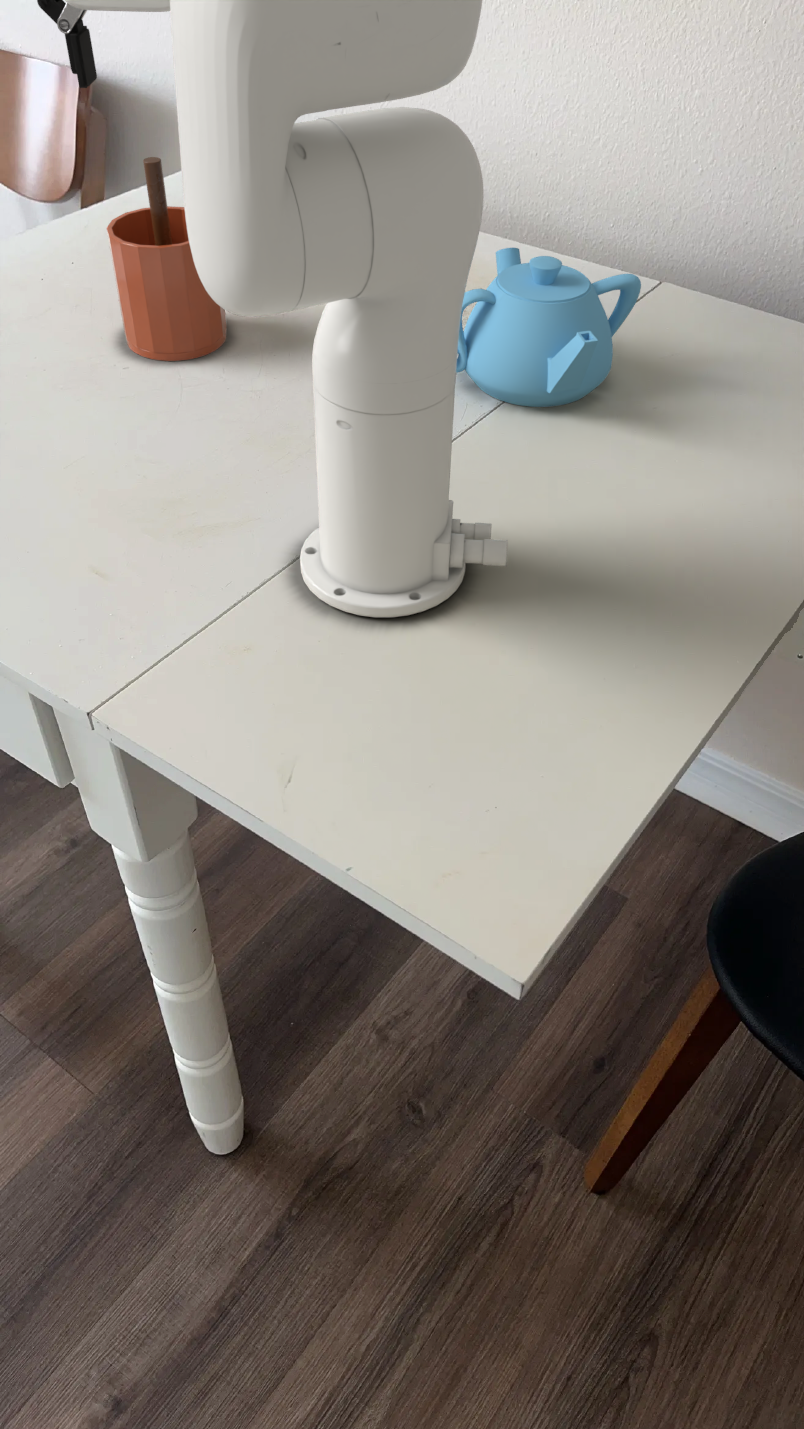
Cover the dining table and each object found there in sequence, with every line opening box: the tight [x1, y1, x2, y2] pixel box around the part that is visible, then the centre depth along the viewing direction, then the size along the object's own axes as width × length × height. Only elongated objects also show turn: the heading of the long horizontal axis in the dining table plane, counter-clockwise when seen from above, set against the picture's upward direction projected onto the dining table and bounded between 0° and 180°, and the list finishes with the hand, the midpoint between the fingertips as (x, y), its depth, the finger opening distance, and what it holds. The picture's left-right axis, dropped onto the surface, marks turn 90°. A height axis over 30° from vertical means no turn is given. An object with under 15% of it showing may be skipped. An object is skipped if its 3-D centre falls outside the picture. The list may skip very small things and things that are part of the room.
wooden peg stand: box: [142, 156, 172, 246], centre depth 103 cm, size 5×5×16 cm
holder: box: [106, 205, 228, 362], centre depth 105 cm, size 10×10×11 cm
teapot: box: [456, 247, 642, 408], centre depth 101 cm, size 15×17×11 cm
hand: (143, 85), depth 92 cm, fingers open, 9 cm apart
